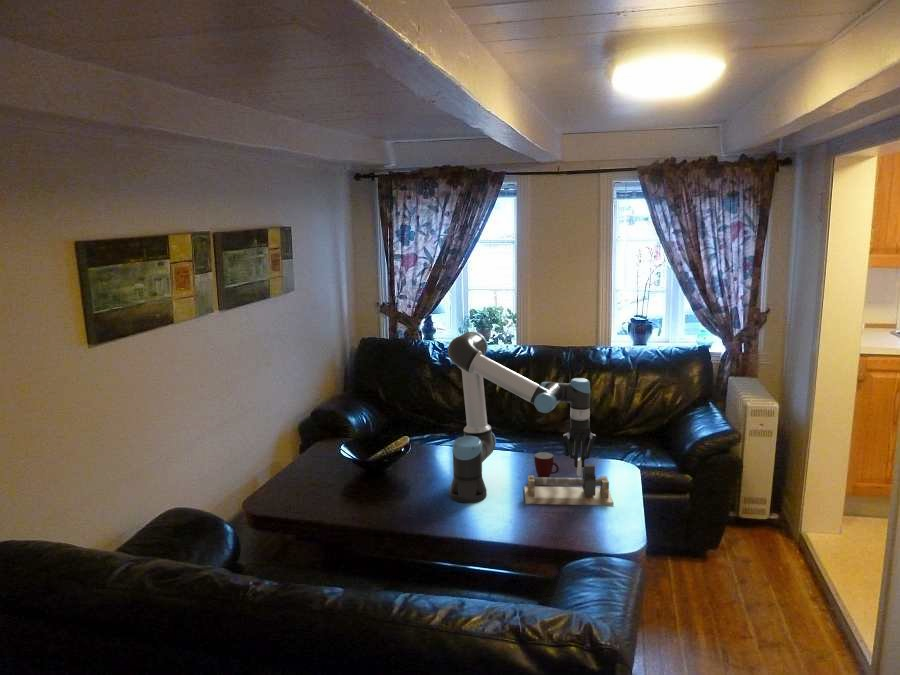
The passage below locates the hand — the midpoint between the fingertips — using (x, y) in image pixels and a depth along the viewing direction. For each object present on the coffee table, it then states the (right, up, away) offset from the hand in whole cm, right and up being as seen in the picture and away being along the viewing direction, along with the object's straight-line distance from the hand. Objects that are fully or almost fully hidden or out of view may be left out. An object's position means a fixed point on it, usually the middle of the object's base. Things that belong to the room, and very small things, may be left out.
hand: (579, 474), depth 253 cm
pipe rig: (-4, -9, +2) cm, 10 cm away
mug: (-10, -6, +21) cm, 24 cm away
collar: (+4, -7, +1) cm, 8 cm away
